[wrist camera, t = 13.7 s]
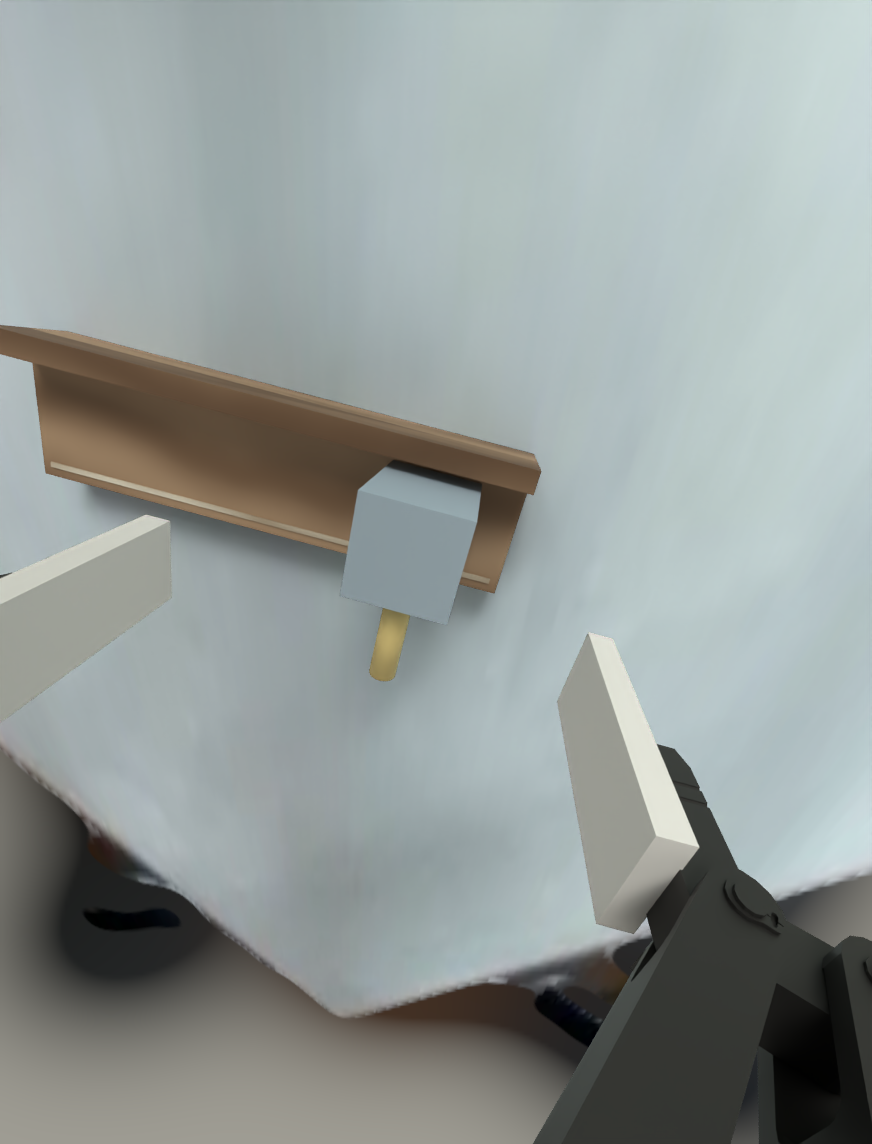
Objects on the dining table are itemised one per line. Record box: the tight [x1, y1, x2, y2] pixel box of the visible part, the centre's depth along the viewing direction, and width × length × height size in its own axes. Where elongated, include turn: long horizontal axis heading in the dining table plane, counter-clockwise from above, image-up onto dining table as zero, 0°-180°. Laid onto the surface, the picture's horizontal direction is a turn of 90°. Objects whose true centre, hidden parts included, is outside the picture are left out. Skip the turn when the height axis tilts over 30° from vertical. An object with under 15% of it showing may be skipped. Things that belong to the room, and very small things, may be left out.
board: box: [0, 325, 541, 593], centre depth 26 cm, size 8×28×5 cm, turn 76°
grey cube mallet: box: [340, 460, 482, 681], centre depth 24 cm, size 10×5×7 cm, turn 166°
